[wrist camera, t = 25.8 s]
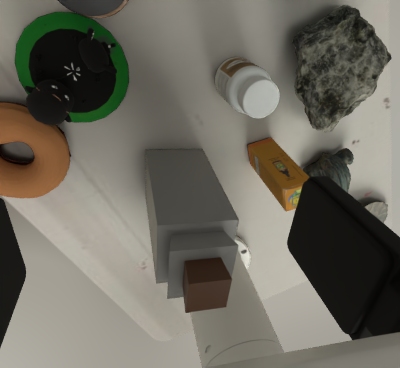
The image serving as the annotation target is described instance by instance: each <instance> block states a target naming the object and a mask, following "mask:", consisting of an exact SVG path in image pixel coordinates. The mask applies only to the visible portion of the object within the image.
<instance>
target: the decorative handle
mask: <svg viewBox="0 0 400 368" xmlns="http://www.w3.org/2000/svg"><path fill="white" fill-rule="evenodd" d="M353 159H354V158H353V154H352V152H351V151H350V150H349V149H347V148H345V149H342V150H340V151H338V152H337V153H336V154H334V155H331V154H326V153H322V158H320V159H319V160H318V161H317V162H316V163H313V164H311V165H309V166H307V167H305V168H303V171H304V172H305V173H306V174H307V175H308V176H309V177H312V176H328V177H330V178H331V179H332V180H333V181H334V182H336V183H337V184H338V185H339V186H340V187H341V188H343V189H344V190H345V191H346V192H347V193H348V189H349V184H350V180H351V178H350V177H351V175H350V172H349V169H348V167H347V164H352V162H353Z"/></svg>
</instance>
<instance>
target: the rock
mask: <svg viewBox="0 0 400 368" xmlns="http://www.w3.org/2000/svg"><path fill="white" fill-rule="evenodd" d="M292 43H293V44H294V46H295V48H296V50H295V53H296V55H297V59H298V61H299V62H298V68H297V70H296V75H297V78H296V82H295V86H294V87H295V93H296V95H297V97H298V98H299V99H300V101H302V102H303V104H304V105H305V113H306V114H307V116H308V118H309V121H310V124H311V126H312V127H313V128H314V129H316V130H322V131H324V132H330V131H332V130H333V129H334V127H335V126H336V125H337V123H338V122H339V120H340V119H341V118H343V117H344V116H346V115H349V114H350V113H351V112H352V111H353V110H354V109H355V108H356V107H358V106H359V104H360V103H361V102H362V101H364V100H365V99H366V98H367V97H369V96H371V95H372V94H373V93H374V91H375V89H376V87H377V80H378V78H379V76H380V74H381V72H383V69H384V67H385V66H386V65H387V64H388V62H389V61H390V60H391V54H390V53H388V51H387V48H386V46H385V45H384V44H383V43H382V41H381V39H379V38H378V37H377V36H376V33H375V29H374V27H373V26H372V25H371V24H369V23H368V22H367V21H366V20H365V19H363V18H362V17H361V16H360V13H359V10H357V9H356V8H352V7H350V6H347V5H342V6H341V7H339V8H337V9H335V10H333V11H332V12H331V14H330V15H327V16H326V17H325V18H323V19H321V20H320V21H318V22H317V23H316V24H315V25H307V26H306V27H305V28H303V29H302V30H300V31H299V32H298V34H297V36H296V37H295V38H294V39H293V42H292Z"/></svg>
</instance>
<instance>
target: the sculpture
mask: <svg viewBox="0 0 400 368" xmlns="http://www.w3.org/2000/svg"><path fill="white" fill-rule="evenodd" d="M365 208H366V209H367V210H368V211H370V212H371V213H372V214H373V215H374V216H375V217H377V218H378V219H379V220H380V221H381V222H382V223H384V221H385V219H386V217H387V209H388V205H387V204H385V203H384V202H374V203H371V204H369V205H367V206H365Z"/></svg>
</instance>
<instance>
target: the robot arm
mask: <svg viewBox="0 0 400 368" xmlns="http://www.w3.org/2000/svg"><path fill="white" fill-rule="evenodd" d="M235 242H236V243H237V244H238V245H239V246H238V250H237V255H236V260H235V264H234V269H233V273H232V282H231V287H230V292H229V296H228V301H227V305H226V307H224V308H217V309H210V310H203V311H196V312H190V314H191V319H192V323H193V328H194V332H195V337H196V341H197V346H198V351H199V356H200V360H201V365H202V368H400V237H399V236H398V235H397V234H395V233H394V232H393V231H392V230H391V229H389V228H388V227H387V226H386V225H385V224H384V223H382V222H381V221H380V220H379V219H378V218H377V217H375V216H374V215H373V214H372V213H371V212H370V211H368V210H367V209H366V208H365V207H364V206H363V205H361V204H360V203H359V202H358V201H357V200H355V199H354V198H353V197H352V196H351V195H350V194H348V193H347V192H346V191H345V190H344V189H343V188H341V187H340V186H339V185H338V184H337V183H336V182H334V181H333V180H332V179H331V178H330V177H328V176H312V177H309V178H308V179H307V181H305V182H304V183H303V185H302V189H301V193H300V196H299V200H298V204H297V207H296V211H295V215H294V218H293V222H292V226H291V229H290V233H289V237H288V241H287V245H288V249H289V251H290V252H291V254H292V256H293V257H294V259H295V260H296V262H297V263H298V265H299V266H300V268H301V269H302V271H303V272H304V274H305V275H306V277H307V278H308V280H309V281H310V283H311V284H312V286H313V287H314V288H315V290H316V292H317V293H318V295H319V296H320V298H321V299H322V301H323V302H324V304H325V305H326V307H327V308H328V310H329V311H330V313H331V314H332V316H333V317H334V319H335V320H336V322H337V323H338V325H339V326H340V328H341V329H342V331H343V332H345V333H346V334H349V335H350V337H351V338H352V341H346V342H341V343H335V344H330V345H325V346H319V347H313V348H308V349H303V350H297V351H292V352H286V353H284V351H283V349H282V346H281V344H280V342H279V340H278V338H277V335H276V333H275V331H274V329H273V327H272V324H271V322H270V320H269V318H268V315H267V314H266V311H265V309H264V307H263V304H262V302H261V300H260V298H259V295H258V293H257V291H256V289H255V287H254V284H253V282H252V280H251V278H250V276H249V273H248V271H247V269H248V268H249V265H250V260H251V256H250V251H249V249H248V247H247V245H246V244H245V242H244V241H243V240H241V239H240V238H239V237H237V236H235ZM25 277H26V268H25V264H24V261H23V258H22V255H21V252H20V249H19V245H18V242H17V239H16V236H15V233H14V230H13V227H12V224H11V221H10V217H9V214H8V211H7V208H6V205H5V202H4V200H3V199H1V198H0V347H1V344H2V342H3V339H4V336H5V333H6V331H7V328H8V325H9V322H10V320H11V317H12V314H13V311H14V309H15V306H16V303H17V300H18V298H19V295H20V292H21V289H22V287H23V284H24V281H25Z"/></svg>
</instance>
